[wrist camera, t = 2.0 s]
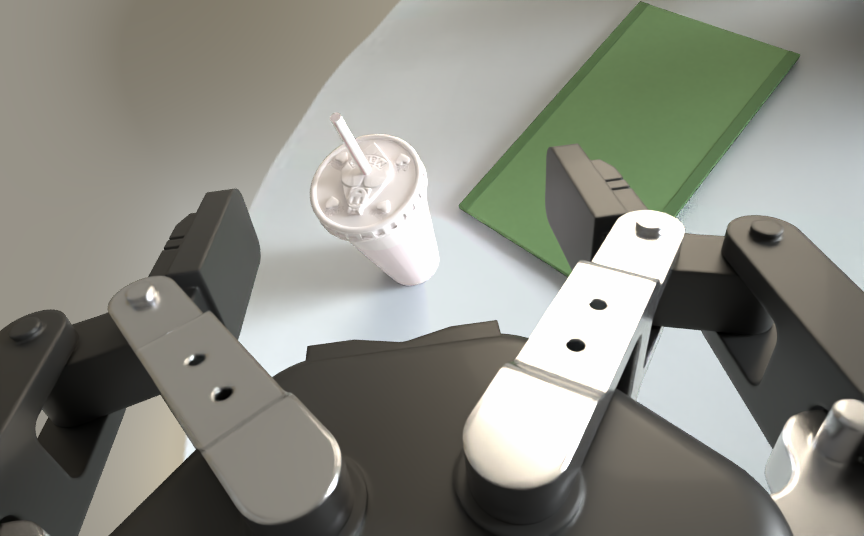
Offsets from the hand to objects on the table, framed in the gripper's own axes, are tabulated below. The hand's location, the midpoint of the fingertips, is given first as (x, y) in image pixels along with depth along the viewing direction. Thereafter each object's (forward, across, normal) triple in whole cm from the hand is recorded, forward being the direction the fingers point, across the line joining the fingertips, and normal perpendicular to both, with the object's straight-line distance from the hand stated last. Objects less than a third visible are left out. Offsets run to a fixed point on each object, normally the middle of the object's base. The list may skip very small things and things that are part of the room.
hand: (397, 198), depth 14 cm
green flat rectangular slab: (+21, -15, +10) cm, 28 cm away
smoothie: (+17, 0, +15) cm, 23 cm away
